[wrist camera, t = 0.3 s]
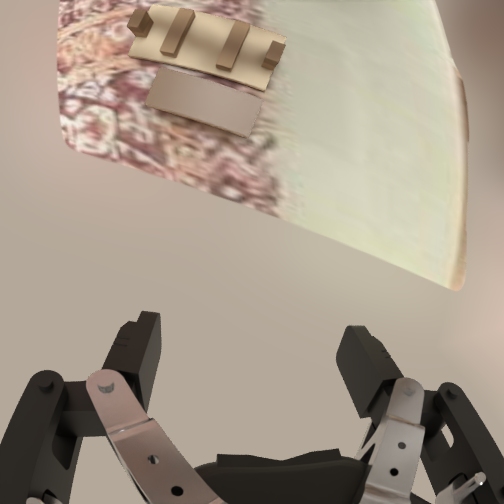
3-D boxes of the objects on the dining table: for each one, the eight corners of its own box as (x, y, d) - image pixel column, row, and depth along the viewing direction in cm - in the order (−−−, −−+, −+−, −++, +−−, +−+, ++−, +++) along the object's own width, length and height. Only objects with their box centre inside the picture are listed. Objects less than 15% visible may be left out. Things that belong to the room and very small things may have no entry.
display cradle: (153, 7, 26) (145, -9, 21) (285, 39, 29) (293, 26, 25) (130, 57, 28) (117, 46, 24) (264, 91, 32) (269, 83, 27)
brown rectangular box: (168, 76, 30) (159, 66, 25) (259, 105, 33) (264, 99, 28) (154, 109, 31) (144, 104, 27) (245, 138, 34) (248, 137, 29)
